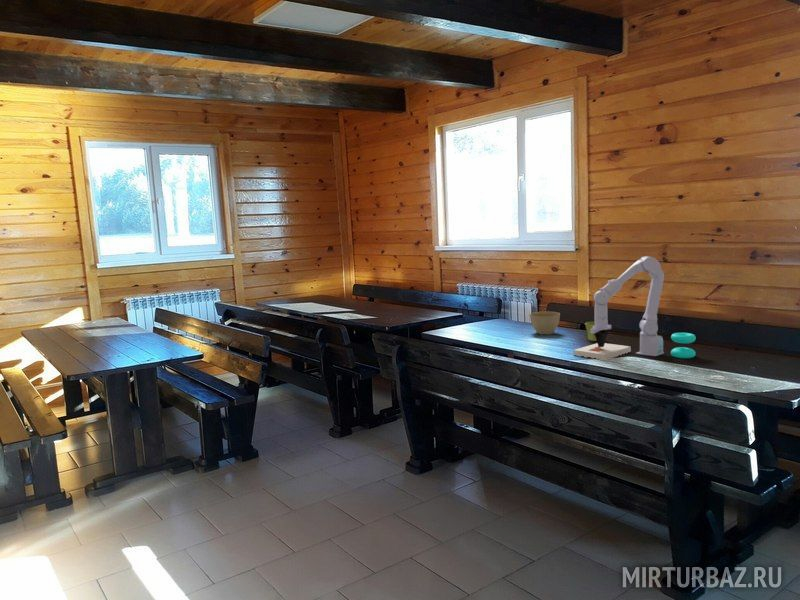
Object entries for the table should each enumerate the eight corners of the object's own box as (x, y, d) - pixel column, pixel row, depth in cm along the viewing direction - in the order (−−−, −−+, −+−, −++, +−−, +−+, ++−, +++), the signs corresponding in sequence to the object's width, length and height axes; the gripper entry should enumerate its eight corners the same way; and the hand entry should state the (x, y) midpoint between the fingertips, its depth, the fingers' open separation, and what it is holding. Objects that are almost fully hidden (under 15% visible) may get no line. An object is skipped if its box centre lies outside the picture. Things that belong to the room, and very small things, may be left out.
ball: (597, 351, 284) (599, 358, 286) (603, 346, 285) (604, 352, 287) (590, 349, 287) (592, 355, 289) (595, 343, 288) (597, 350, 290)
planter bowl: (531, 330, 356) (531, 311, 355) (561, 331, 351) (561, 311, 350) (528, 335, 341) (528, 315, 339) (559, 336, 336) (558, 316, 334)
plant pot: (583, 341, 320) (583, 324, 319) (586, 337, 328) (586, 321, 327) (602, 342, 316) (602, 325, 315) (605, 338, 324) (605, 322, 323)
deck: (630, 351, 291) (630, 346, 291) (605, 360, 277) (605, 354, 277) (599, 347, 303) (599, 342, 303) (573, 355, 289) (573, 350, 289)
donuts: (669, 335, 275) (672, 331, 284) (669, 357, 276) (672, 353, 285) (694, 336, 270) (697, 332, 279) (694, 359, 271) (696, 355, 280)
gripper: (601, 314, 295) (601, 343, 297) (584, 318, 286) (584, 348, 287) (615, 315, 290) (615, 344, 292) (598, 320, 280) (598, 350, 282)
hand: (601, 346), depth 289 cm, fingers closed
